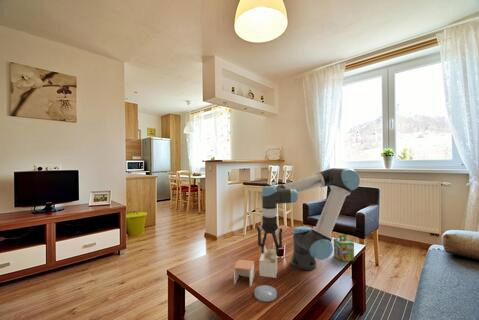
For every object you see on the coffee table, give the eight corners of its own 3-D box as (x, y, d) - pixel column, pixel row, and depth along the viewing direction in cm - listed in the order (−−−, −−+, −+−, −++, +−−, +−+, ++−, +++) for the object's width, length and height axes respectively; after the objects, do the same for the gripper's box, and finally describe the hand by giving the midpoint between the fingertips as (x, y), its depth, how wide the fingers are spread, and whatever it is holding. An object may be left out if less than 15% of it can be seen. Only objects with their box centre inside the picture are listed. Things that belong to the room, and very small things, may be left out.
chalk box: (341, 262, 135) (340, 238, 135) (333, 255, 144) (332, 233, 144) (354, 261, 136) (354, 237, 136) (346, 254, 145) (345, 233, 145)
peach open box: (254, 276, 120) (253, 261, 120) (251, 285, 111) (250, 269, 111) (238, 274, 122) (238, 259, 122) (234, 283, 114) (233, 267, 114)
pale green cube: (277, 269, 127) (276, 255, 127) (275, 277, 118) (275, 262, 118) (262, 268, 130) (261, 253, 130) (259, 275, 121) (259, 260, 121)
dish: (277, 289, 108) (277, 286, 108) (276, 303, 97) (275, 300, 97) (256, 286, 111) (256, 284, 111) (252, 299, 100) (252, 297, 100)
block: (275, 259, 114) (275, 249, 114) (274, 263, 109) (274, 253, 109) (266, 258, 115) (266, 248, 115) (264, 262, 110) (264, 252, 111)
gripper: (287, 214, 114) (288, 258, 114) (254, 213, 119) (254, 255, 118) (286, 218, 107) (287, 265, 106) (251, 216, 111) (252, 261, 111)
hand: (270, 259), depth 112 cm, fingers closed on block, 5 cm apart
